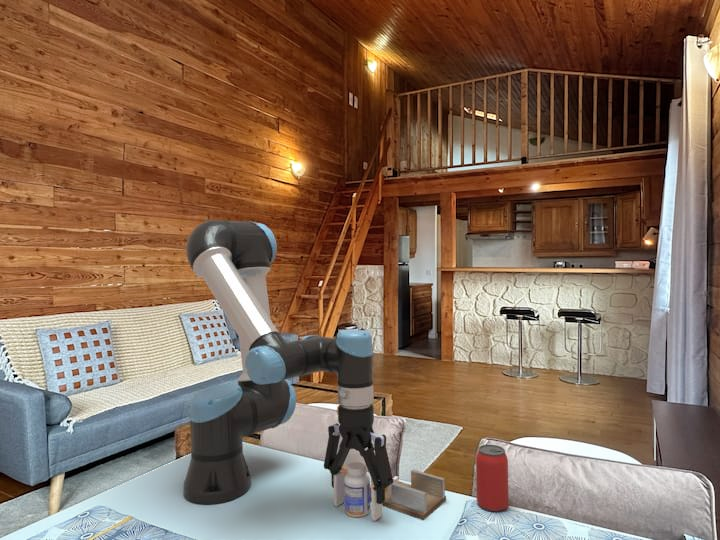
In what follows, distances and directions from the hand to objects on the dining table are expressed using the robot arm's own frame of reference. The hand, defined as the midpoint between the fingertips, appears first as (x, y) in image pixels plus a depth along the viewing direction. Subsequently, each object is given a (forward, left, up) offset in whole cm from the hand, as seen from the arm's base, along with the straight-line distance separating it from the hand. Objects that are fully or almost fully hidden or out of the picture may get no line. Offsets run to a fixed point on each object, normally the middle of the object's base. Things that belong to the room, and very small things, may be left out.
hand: (357, 510), depth 101 cm
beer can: (+22, +19, 0) cm, 29 cm away
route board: (+5, +10, 0) cm, 11 cm away
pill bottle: (0, 0, 0) cm, 0 cm away
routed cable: (0, +9, +1) cm, 9 cm away
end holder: (+9, +10, 0) cm, 13 cm away
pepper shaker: (-11, +12, 0) cm, 17 cm away
